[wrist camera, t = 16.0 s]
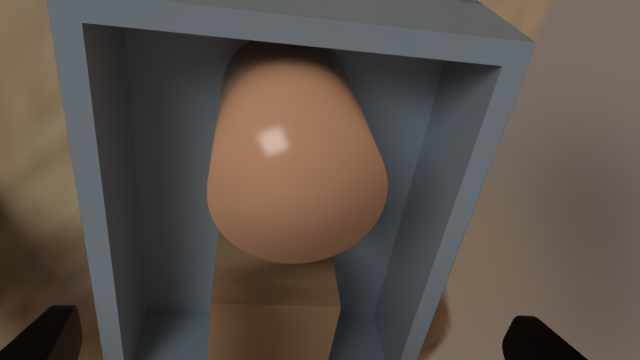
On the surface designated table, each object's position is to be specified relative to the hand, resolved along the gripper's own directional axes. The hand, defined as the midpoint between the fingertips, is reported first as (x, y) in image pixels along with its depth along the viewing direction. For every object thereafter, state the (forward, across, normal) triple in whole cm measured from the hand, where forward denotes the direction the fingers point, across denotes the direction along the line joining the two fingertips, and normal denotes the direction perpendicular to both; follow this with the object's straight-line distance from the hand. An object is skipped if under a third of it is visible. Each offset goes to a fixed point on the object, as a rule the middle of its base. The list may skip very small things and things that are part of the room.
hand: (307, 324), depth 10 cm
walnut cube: (+11, 0, +9) cm, 15 cm away
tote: (+12, 0, +4) cm, 13 cm away
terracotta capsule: (+11, 0, 0) cm, 11 cm away
